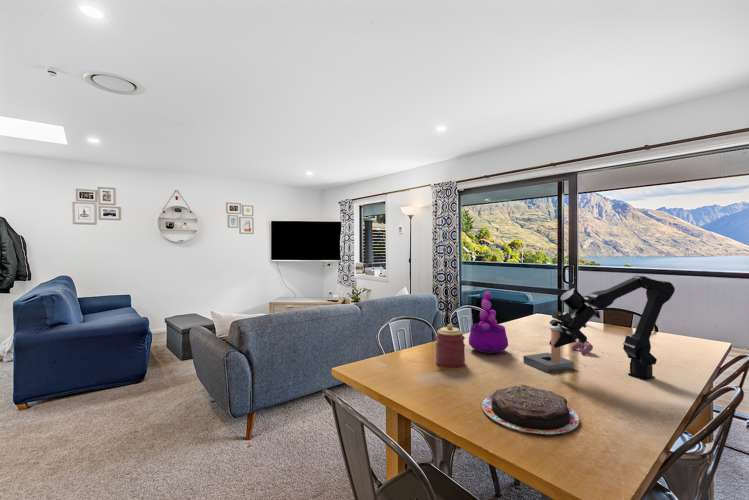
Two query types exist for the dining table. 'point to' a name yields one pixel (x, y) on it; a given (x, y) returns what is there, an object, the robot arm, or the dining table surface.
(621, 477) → the dining table surface
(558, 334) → the pin
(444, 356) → the canister
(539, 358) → the dark grey square base
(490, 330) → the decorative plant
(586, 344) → the mauve curved piece
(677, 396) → the dining table surface
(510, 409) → the chocolate cake
